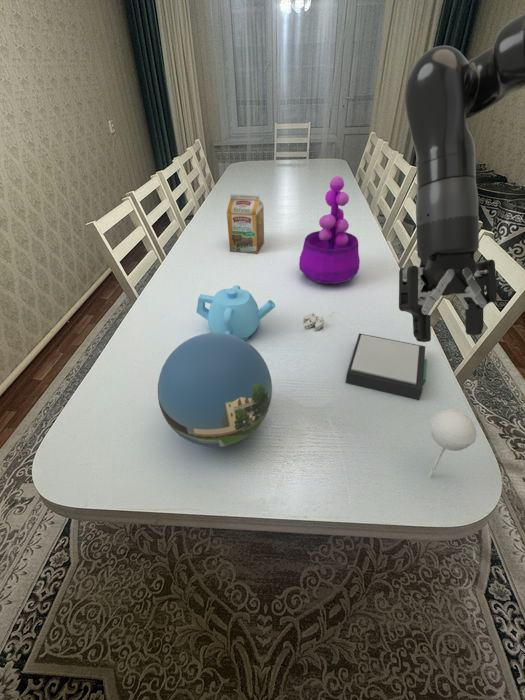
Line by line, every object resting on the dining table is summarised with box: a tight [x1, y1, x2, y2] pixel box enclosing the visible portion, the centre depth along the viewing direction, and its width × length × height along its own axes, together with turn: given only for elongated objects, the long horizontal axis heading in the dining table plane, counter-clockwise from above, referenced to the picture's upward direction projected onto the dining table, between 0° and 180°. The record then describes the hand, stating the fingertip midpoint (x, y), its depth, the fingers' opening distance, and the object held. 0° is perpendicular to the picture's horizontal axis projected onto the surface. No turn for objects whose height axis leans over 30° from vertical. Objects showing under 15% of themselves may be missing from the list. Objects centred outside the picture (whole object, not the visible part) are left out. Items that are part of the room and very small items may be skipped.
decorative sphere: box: [157, 332, 273, 448], centre depth 63 cm, size 20×20×20 cm
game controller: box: [302, 311, 335, 331], centre depth 96 cm, size 6×12×3 cm, turn 145°
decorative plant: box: [298, 176, 360, 284], centre depth 107 cm, size 19×18×30 cm
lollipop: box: [428, 408, 478, 479], centre depth 55 cm, size 6×6×15 cm
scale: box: [345, 333, 428, 401], centre depth 79 cm, size 16×15×4 cm
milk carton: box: [226, 193, 265, 255], centre depth 131 cm, size 11×11×19 cm
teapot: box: [196, 284, 276, 341], centre depth 90 cm, size 20×17×12 cm
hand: (449, 337), depth 51 cm, fingers open, 8 cm apart
